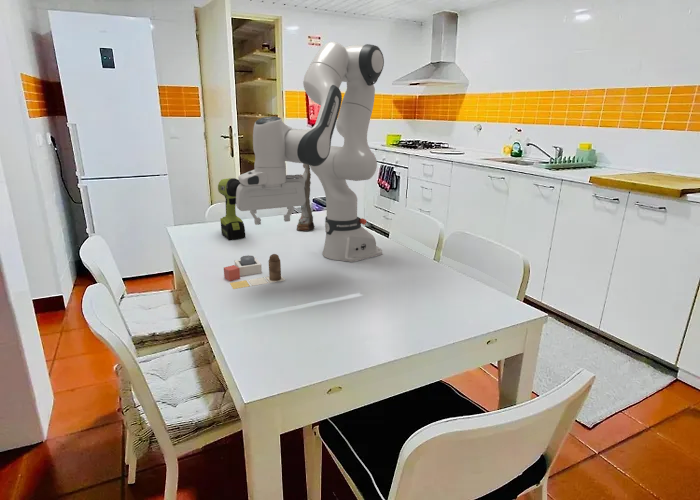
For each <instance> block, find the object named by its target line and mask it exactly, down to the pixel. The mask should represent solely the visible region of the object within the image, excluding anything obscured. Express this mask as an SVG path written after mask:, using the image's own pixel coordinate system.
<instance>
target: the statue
mask: <svg viewBox="0 0 700 500" xmlns="http://www.w3.org/2000/svg"><path fill="white" fill-rule="evenodd" d="M302 168H303V169H304V172H303V173H302V174H299V175H300V176H302V177H303V178H304V179H305V187H304V191H305V198H306V202H305V204H304V205H303V206H300V210H301V214H300V217H299V219H298V222H297V225H296V231H297V232H307V231H311V230H314V229H315V224H314V216H313V212H312V209H311V201H310V198H311V197H310V196H311V184H312V182H311V176H312V174H311V167H310V165H307V164H303V163H302ZM300 178H301V177H300Z"/></svg>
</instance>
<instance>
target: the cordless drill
mask: <svg viewBox="0 0 700 500" xmlns="http://www.w3.org/2000/svg"><path fill="white" fill-rule="evenodd" d="M239 184H241V183H240V182H239V178H238V179H237V178H235V177H232V178H231V177H230V178H228V177H227V178H222V179H220V181H219V182H218V185H217V191H218V194H220V195H222V196H223V197H224V198H225V216H222V217H220V230H221V231H220V232H221V235H222V236H223V237H224V238H225V239H226V240H227V241H237V240H242V239H246V237H247V236H246V227H245V224H244V221H243V220H242V219H241V218H240V217H239V216H237V214H236V213H237V212H236V207H237V206H236V191H237V187H238V185H239Z"/></svg>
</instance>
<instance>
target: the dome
mask: <svg viewBox="0 0 700 500" xmlns="http://www.w3.org/2000/svg"><path fill="white" fill-rule="evenodd" d="M254 258H255V256H254V255H249V254H247V255H243V256H241V257H240V259H239V260H241V266H246V265H253V264H255V259H254Z"/></svg>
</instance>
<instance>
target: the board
mask: <svg viewBox="0 0 700 500" xmlns="http://www.w3.org/2000/svg"><path fill="white" fill-rule="evenodd" d="M277 282H286V279H285V278H284V276H282V275H281V279H280V280H277V281H272V280H270V279H269V276H265V277H258V278H251V279H247V280H246V279H245V280H239V281H234V282H233V281H231V282H229V285H231V288H232V289H233V290H236V289H237V290H238V289H242V288H248V287H253V286H254V287H255V286H259V285H267V284H271V283H277Z"/></svg>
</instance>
